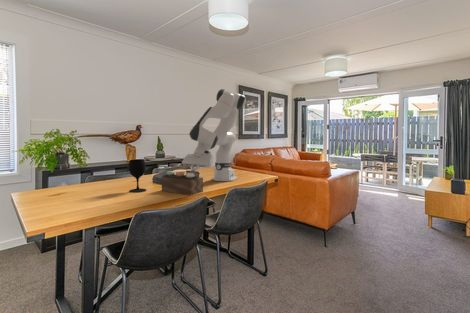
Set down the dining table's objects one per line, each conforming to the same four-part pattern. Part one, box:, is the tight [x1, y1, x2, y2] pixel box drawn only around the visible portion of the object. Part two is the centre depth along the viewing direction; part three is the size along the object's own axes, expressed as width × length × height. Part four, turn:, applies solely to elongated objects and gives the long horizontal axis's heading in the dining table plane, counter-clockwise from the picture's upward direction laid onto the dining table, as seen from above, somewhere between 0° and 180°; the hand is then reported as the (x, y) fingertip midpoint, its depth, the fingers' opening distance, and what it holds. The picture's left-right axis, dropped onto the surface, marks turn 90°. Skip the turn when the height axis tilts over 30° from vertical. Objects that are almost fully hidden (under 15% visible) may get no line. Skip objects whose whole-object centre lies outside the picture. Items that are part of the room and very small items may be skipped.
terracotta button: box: [175, 171, 185, 176], centre depth 166 cm, size 5×5×2 cm
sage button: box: [166, 170, 176, 175], centre depth 170 cm, size 5×5×2 cm
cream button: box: [185, 172, 195, 178], centre depth 162 cm, size 5×5×2 cm
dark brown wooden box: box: [161, 174, 204, 196], centre depth 168 cm, size 12×24×10 cm, turn 61°
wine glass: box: [128, 158, 147, 194], centre depth 168 cm, size 10×10×20 cm
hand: (193, 171), depth 163 cm, fingers closed
